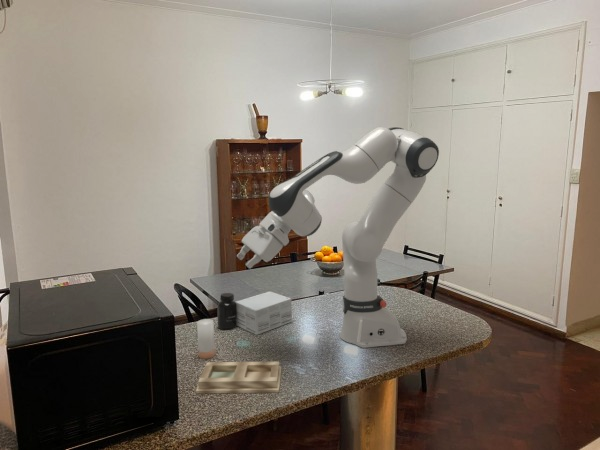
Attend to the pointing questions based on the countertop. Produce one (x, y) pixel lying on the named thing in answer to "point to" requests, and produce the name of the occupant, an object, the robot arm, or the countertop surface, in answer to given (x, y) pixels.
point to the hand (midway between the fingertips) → (242, 262)
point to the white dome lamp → (205, 338)
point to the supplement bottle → (227, 311)
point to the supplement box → (263, 312)
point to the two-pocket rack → (240, 377)
